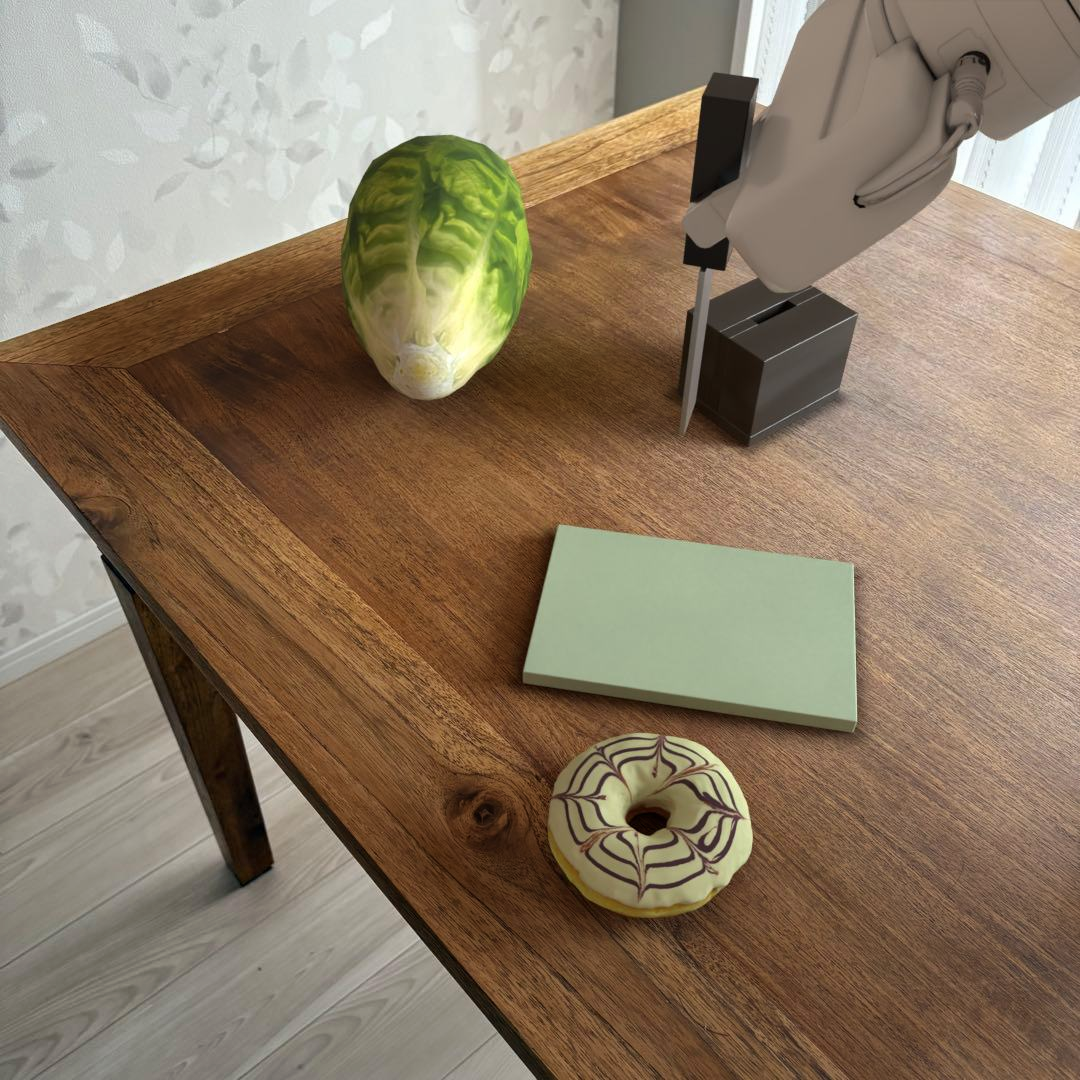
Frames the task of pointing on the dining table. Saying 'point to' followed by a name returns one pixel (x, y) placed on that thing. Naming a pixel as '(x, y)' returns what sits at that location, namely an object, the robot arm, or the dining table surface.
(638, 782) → the decorated donut
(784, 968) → the dining table surface
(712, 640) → the cutting board
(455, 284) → the lettuce
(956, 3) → the robot arm
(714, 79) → the knife
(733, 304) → the knife block
